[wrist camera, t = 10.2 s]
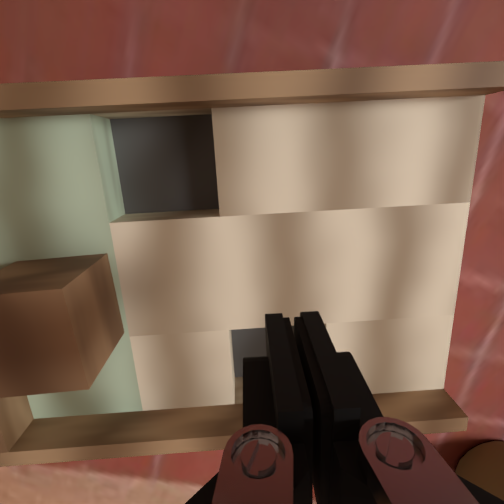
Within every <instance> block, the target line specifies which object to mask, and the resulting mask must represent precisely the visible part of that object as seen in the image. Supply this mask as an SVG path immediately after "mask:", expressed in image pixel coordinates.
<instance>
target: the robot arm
mask: <svg viewBox="0 0 504 504" xmlns="http://www.w3.org/2000/svg"><path fill="white" fill-rule="evenodd" d="M265 333H266V356H261V357H243V428H241V429H240V430H238V431H237V432H235V433H234V434H233V435H232V436H231V437H230V439H229V440H228V441H227V444H226V446H225V448H224V452H223V456H222V460H221V465H220V469H219V472H218V473H217V474H216V475H215V476H214V477H213V478H212V479H211V480H210V481H209V482H207V483H206V484H205V485H204V486H203V487H202V488H201V489H200V490H199V491H198V492H197V493H196V494H195V495H194V496H193V497H192V498H191V499H189V500H188V501H187V502H186V503H185V504H312V487H314V491H315V496H316V501H317V504H504V501H503V500H502V499H500V498H498V497H496V496H494V495H493V494H491V493H489V492H487V491H485V490H484V489H482V488H480V487H478V486H476V485H475V484H473V483H471V482H469V481H468V480H466V479H464V478H462V477H460V476H459V475H457V474H455V473H454V471H453V470H452V469H451V468H450V466H449V465H448V464H447V463H446V461H445V460H444V459H443V458H442V456H441V455H440V454H439V453H438V451H437V450H436V449H435V448H434V446H433V445H432V444H431V443H430V441H429V440H428V439H427V438H426V437H425V436H424V435H423V434H422V433H421V432H420V431H419V430H418V429H417V428H415V427H413V426H412V425H410V424H409V423H407V422H404V421H402V420H399V419H396V418H390V417H383V415H382V413H381V411H380V409H379V407H378V405H377V403H376V401H375V399H374V397H373V395H372V393H371V391H370V389H369V387H368V385H367V383H366V381H365V379H364V377H363V375H362V373H361V371H360V369H359V367H358V365H357V363H356V361H355V359H354V358H353V356H352V354H351V353H350V352H336V350H335V347H334V345H333V343H332V341H331V338H330V336H329V334H328V332H327V329H326V327H325V325H324V322H323V320H322V318H321V316H320V313H319V312H318V311H309V312H300V317H294V333H293V330H292V326H291V322H290V318H289V317H283V314H282V313H273V314H265Z"/></svg>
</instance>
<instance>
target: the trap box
mask: <svg viewBox="0 0 504 504" xmlns="http://www.w3.org/2000/svg"><path fill="white" fill-rule="evenodd" d="M500 91H504V61H494V62H472V63H450V64H428V65H406V66H383V67H361V68H339V69H317V70H295V71H273V72H250V73H228V74H206V75H184V76H162V77H139V78H117V79H95V80H73V81H51V82H28V83H6V84H0V269H2V268H4V267H6V266H8V265H10V264H12V263H14V262H16V261H25V260H37V259H48V258H59V257H70V256H82V255H93V254H104V253H107V254H108V259H109V263H110V268H111V272H112V277H113V282H114V286H115V291H116V295H117V300H118V305H119V309H120V314H121V318H122V323H123V328H124V334H123V336H122V337H121V339H120V340H119V342H118V344H117V345H116V347H115V349H114V350H113V352H112V353H111V355H110V357H109V358H108V360H107V361H106V363H105V365H104V366H103V368H102V369H101V371H100V373H99V374H98V376H97V378H96V379H95V381H94V382H93V384H92V386H91V387H90V389H89V390H78V391H68V392H58V393H47V394H37V395H27V396H16V397H6V398H0V467H3V466H16V465H29V464H42V463H55V462H68V461H80V460H93V459H106V458H119V457H132V456H145V455H158V454H171V453H184V452H197V451H210V450H223V449H224V448H225V446H226V444H227V441H228V440H229V439H230V437H231V436H232V435H233V434H234V433H235V432H237V431H238V430H240V429H241V428H243V357H261V356H266V333H265V314H273V313H282V314H283V317H289V318H290V322H291V326H292V330H293V333H294V317H300V312H309V311H318V312H319V313H320V316H321V318H322V320H323V322H324V325H325V327H326V329H327V332H328V334H329V336H330V338H331V341H332V343H333V345H334V347H335V350H336V352H350V353H351V354H352V356H353V358H354V359H355V361H356V363H357V365H358V367H359V369H360V371H361V373H362V375H363V377H364V379H365V381H366V383H367V385H368V387H369V389H370V391H371V393H372V395H373V397H374V399H375V401H376V403H377V405H378V407H379V409H380V411H381V413H382V415H383V417H390V418H396V419H399V420H402V421H404V422H407V423H409V424H410V425H412V426H413V427H415V428H417V429H418V430H419V431H420V432H421V433H422V434H431V433H444V432H457V431H466V429H467V423H468V416H467V415H466V414H465V413H464V412H463V411H462V409H461V408H460V407H459V406H458V405H457V404H456V403H455V401H454V400H453V399H452V398H451V397H450V396H449V395H448V393H447V392H446V391H445V390H444V389H443V388H444V381H445V374H446V367H447V360H448V353H449V346H450V339H451V332H452V325H453V318H454V311H455V304H456V297H457V290H458V283H459V276H460V269H461V262H462V255H463V248H464V241H465V234H466V227H467V220H468V213H469V206H470V199H471V192H472V185H473V178H474V171H475V164H476V157H477V150H478V143H479V136H480V129H481V122H482V115H483V108H484V101H485V95H487V94H491V93H496V92H500Z"/></svg>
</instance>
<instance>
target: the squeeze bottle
mask: <svg viewBox="0 0 504 504" xmlns="http://www.w3.org/2000/svg"><path fill="white" fill-rule="evenodd" d="M455 474H457V475H459V476H460V477H462V478H464V479H466V480H468V481H469V482H471V483H473V484H475V485H476V486H478V487H480V488H482V489H484V490H485V491H487V492H489V493H491V494H493V495H494V496H496V497H498V498H500V499H502V500H503V501H504V442H502V441H492V442H487V443H483V444H480V445H478V446H476V447H475V448H473V449H471V450H469V451H468V452H467V453H466V454H465V455H464V456H463V457H462V458H461V459H460V461H459V463H458V465H457V468H456V470H455Z"/></svg>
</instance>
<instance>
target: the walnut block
mask: <svg viewBox="0 0 504 504" xmlns="http://www.w3.org/2000/svg"><path fill="white" fill-rule="evenodd" d="M123 334H124V328H123V323H122V318H121V314H120V309H119V305H118V300H117V295H116V291H115V286H114V282H113V277H112V272H111V268H110V263H109V259H108V254H107V253H104V254H93V255H82V256H70V257H59V258H48V259H37V260H25V261H16V262H14V263H12V264H10V265H8V266H6V267H4V268H2V269H0V398H6V397H16V396H27V395H37V394H47V393H58V392H68V391H78V390H89V389H90V387H91V386H92V384H93V382H94V381H95V379H96V378H97V376H98V374H99V373H100V371H101V369H102V368H103V366H104V365H105V363H106V361H107V360H108V358H109V357H110V355H111V353H112V352H113V350H114V349H115V347H116V345H117V344H118V342H119V340H120V339H121V337H122V336H123Z"/></svg>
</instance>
